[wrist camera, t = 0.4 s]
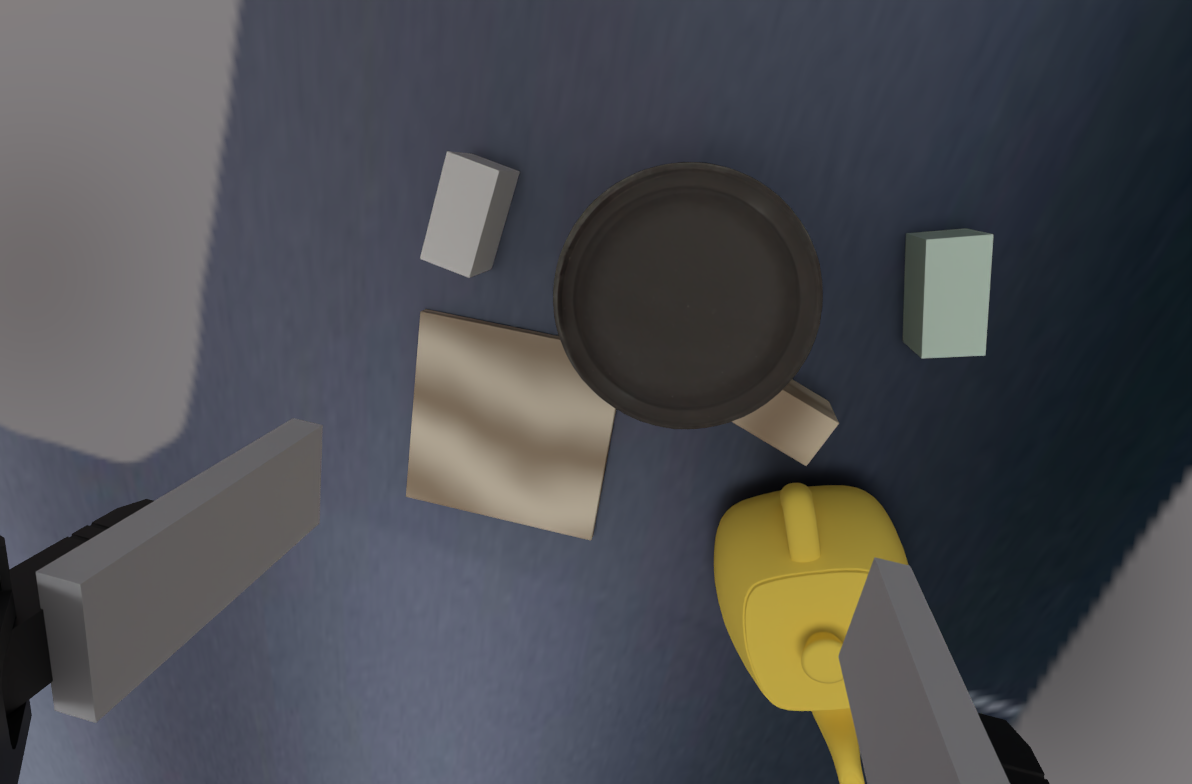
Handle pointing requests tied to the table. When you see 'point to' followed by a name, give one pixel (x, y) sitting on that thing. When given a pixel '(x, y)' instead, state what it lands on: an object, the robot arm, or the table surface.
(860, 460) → the table surface
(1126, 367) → the table surface
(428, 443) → the trivet
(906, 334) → the pale green brick
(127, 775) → the table surface
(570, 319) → the coffee can
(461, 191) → the off-white brick
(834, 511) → the teapot
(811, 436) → the beech brick
